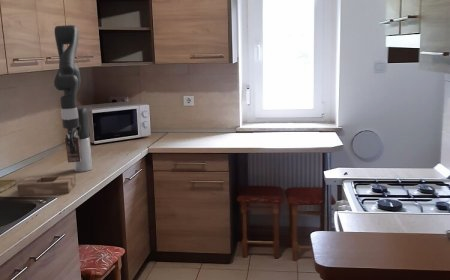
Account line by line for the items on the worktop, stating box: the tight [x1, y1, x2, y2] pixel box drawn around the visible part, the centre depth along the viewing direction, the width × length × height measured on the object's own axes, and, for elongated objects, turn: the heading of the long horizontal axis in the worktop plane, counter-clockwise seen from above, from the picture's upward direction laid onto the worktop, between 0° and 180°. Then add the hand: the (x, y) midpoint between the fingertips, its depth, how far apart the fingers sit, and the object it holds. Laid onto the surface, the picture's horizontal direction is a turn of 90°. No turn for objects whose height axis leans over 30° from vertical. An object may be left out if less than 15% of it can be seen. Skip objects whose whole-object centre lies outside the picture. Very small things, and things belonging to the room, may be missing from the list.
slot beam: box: [16, 174, 77, 197], centre depth 220 cm, size 14×22×5 cm, turn 94°
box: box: [64, 136, 82, 164], centre depth 230 cm, size 6×4×12 cm
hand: (74, 152), depth 231 cm, fingers closed on box, 4 cm apart
